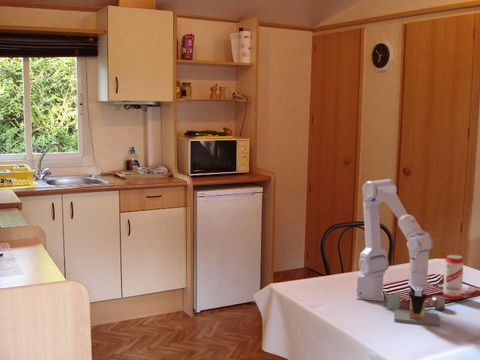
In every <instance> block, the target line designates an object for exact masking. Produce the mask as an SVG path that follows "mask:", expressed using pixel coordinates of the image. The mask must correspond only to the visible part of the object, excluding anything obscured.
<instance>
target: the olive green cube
mask: <svg viewBox="0 0 480 360" xmlns="http://www.w3.org/2000/svg"><path fill="white" fill-rule="evenodd" d="M400 300H401V299H400V294H389V293H388V294H387V301H386V302H387V304H386V306H387V307H386V308H387V310H393V311H395V309H398V310H400Z"/></svg>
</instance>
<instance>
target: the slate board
mask: <svg viewBox="0 0 480 360" xmlns="http://www.w3.org/2000/svg"><path fill="white" fill-rule="evenodd" d="M393 322H396V323H405V324H412V325H425V326H433V327H439V326H440V319H439V314H438V313H434V312H426V311H424V320H422V319H413V318H410V310H406V309H405V310H404V309H399V310H398V309H395V310H394V318H393Z"/></svg>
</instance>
